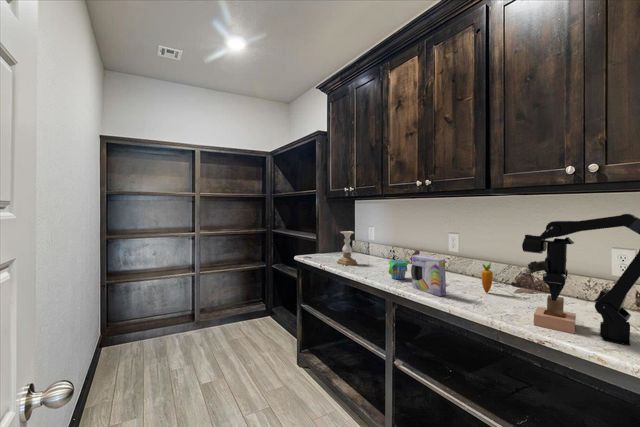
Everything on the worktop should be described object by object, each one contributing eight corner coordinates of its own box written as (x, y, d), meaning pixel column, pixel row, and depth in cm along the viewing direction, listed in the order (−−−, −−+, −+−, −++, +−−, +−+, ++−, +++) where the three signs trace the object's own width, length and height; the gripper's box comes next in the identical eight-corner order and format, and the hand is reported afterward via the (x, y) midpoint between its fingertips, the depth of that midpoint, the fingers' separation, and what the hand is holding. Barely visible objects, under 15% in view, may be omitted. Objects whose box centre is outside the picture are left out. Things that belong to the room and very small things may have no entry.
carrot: (480, 293, 153) (481, 263, 153) (481, 291, 158) (482, 261, 157) (491, 295, 151) (492, 264, 150) (492, 292, 155) (493, 262, 154)
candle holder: (357, 264, 226) (357, 232, 225) (345, 266, 220) (345, 232, 219) (348, 262, 235) (348, 230, 235) (336, 263, 229) (336, 231, 229)
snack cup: (399, 275, 192) (400, 258, 192) (413, 278, 184) (414, 261, 183) (382, 278, 183) (382, 261, 183) (395, 282, 175) (396, 264, 174)
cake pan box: (410, 287, 163) (410, 254, 163) (417, 286, 166) (417, 253, 165) (439, 297, 146) (439, 260, 146) (446, 296, 149) (447, 259, 148)
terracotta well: (575, 324, 114) (575, 313, 114) (574, 333, 105) (574, 322, 105) (537, 316, 121) (537, 306, 121) (533, 325, 113) (533, 314, 113)
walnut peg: (562, 324, 113) (563, 297, 113) (562, 328, 110) (562, 300, 110) (547, 321, 116) (548, 295, 116) (546, 324, 113) (547, 297, 113)
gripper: (533, 250, 125) (532, 288, 125) (526, 255, 111) (524, 298, 111) (568, 253, 118) (567, 294, 118) (565, 259, 104) (564, 305, 104)
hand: (554, 297), depth 113 cm, fingers open, 9 cm apart
